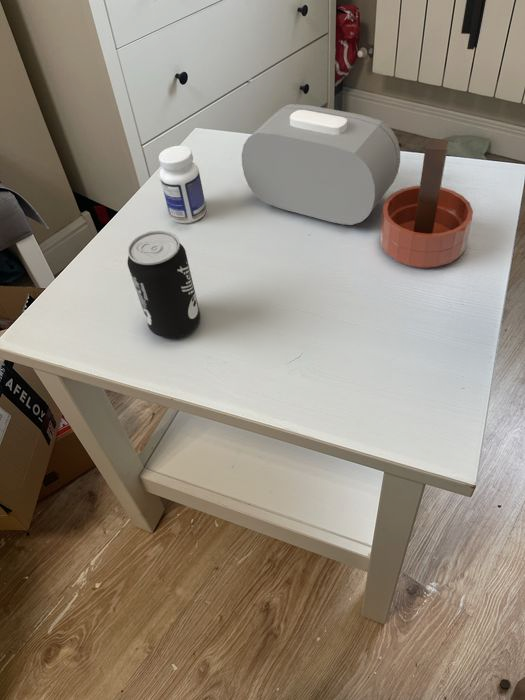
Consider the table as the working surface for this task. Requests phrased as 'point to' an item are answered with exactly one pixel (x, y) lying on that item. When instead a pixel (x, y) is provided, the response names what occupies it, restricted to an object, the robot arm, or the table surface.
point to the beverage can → (163, 283)
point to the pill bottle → (181, 184)
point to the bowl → (422, 246)
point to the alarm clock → (321, 162)
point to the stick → (430, 185)
